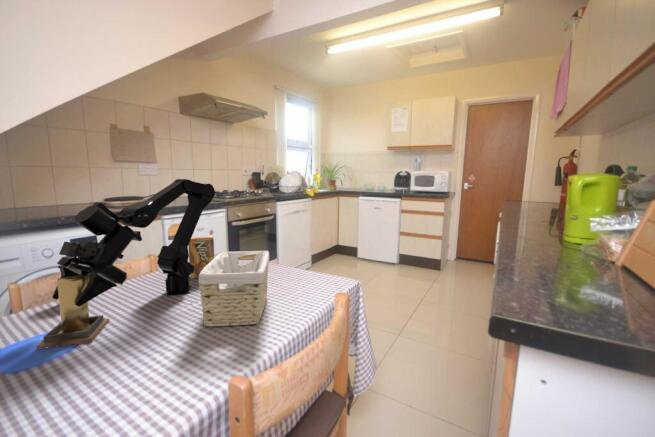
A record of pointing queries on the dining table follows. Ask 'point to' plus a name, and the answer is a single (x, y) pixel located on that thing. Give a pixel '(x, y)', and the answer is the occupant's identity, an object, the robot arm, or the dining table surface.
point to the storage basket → (234, 288)
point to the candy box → (200, 253)
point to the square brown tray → (74, 334)
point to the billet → (72, 304)
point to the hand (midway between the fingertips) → (65, 302)
